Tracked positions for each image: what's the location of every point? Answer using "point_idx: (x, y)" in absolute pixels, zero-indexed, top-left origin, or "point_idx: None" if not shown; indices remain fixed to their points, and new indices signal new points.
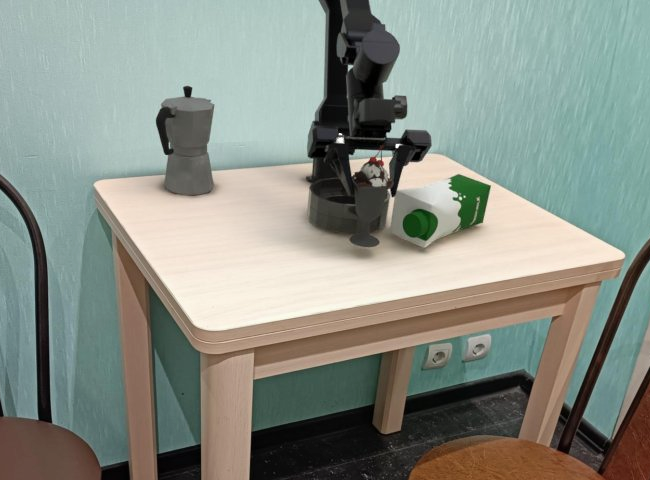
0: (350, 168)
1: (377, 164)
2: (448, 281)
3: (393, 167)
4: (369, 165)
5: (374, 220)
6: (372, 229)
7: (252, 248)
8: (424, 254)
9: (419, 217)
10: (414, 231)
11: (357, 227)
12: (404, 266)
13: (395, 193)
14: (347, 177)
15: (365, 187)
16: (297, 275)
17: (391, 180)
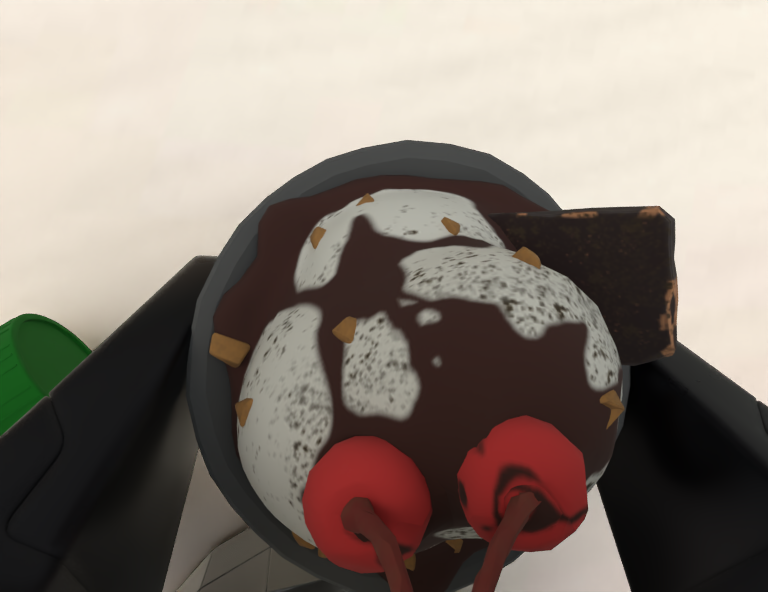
0: (722, 429)
1: (465, 352)
2: (35, 34)
3: (116, 556)
4: (583, 336)
5: (241, 558)
6: (252, 531)
7: (730, 371)
8: (54, 314)
9: (3, 354)
10: (69, 351)
11: None
12: (197, 195)
13: (197, 259)
14: (688, 357)
15: (534, 186)
16: (623, 149)
17: (217, 332)
